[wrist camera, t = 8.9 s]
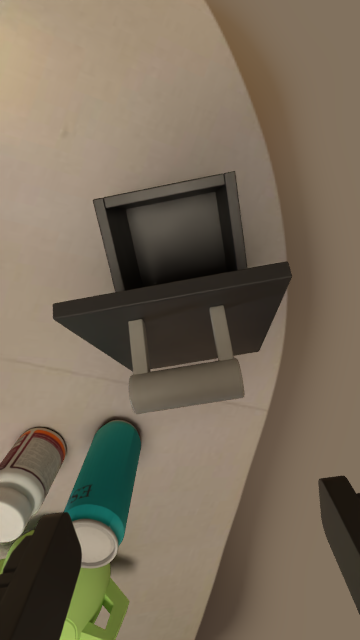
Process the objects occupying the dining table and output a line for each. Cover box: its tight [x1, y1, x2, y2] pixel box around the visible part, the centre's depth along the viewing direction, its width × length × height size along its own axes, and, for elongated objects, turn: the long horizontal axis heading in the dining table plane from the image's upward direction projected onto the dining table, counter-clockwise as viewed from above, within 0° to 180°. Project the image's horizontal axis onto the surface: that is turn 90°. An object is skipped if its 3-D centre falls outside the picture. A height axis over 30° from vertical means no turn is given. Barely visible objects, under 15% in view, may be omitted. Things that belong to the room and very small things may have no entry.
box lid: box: [53, 262, 292, 414], centre depth 21 cm, size 14×11×5 cm
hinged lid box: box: [93, 171, 247, 292], centre depth 32 cm, size 14×11×10 cm
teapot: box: [0, 530, 130, 640], centre depth 43 cm, size 20×13×13 cm
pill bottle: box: [0, 428, 66, 542], centre depth 38 cm, size 6×6×11 cm
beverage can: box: [64, 420, 141, 568], centre depth 36 cm, size 6×6×15 cm
